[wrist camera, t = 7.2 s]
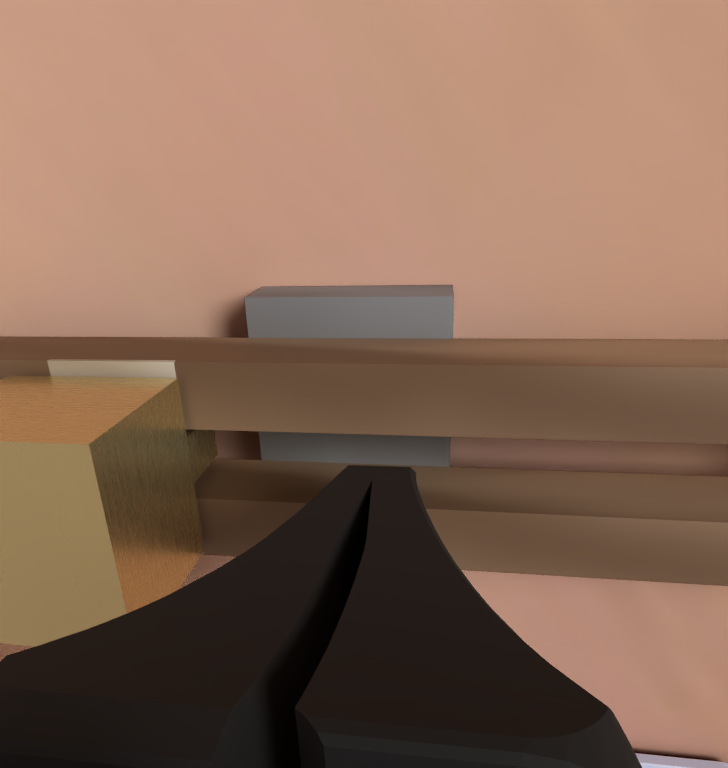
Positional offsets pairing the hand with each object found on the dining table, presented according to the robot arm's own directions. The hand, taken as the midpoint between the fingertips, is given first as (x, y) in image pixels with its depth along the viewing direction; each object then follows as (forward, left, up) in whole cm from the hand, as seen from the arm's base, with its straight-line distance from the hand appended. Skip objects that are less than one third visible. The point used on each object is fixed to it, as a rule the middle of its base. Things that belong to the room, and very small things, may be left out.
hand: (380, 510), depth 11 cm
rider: (0, +7, -3) cm, 7 cm away
